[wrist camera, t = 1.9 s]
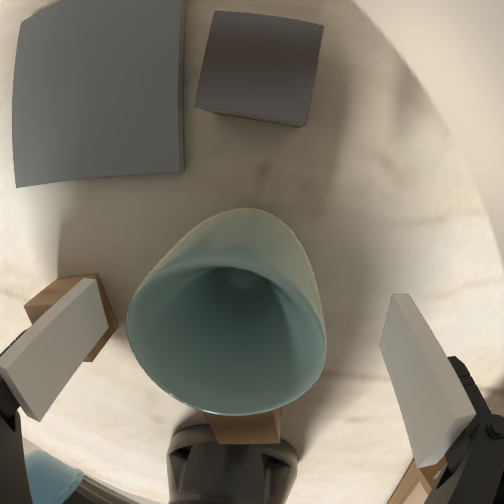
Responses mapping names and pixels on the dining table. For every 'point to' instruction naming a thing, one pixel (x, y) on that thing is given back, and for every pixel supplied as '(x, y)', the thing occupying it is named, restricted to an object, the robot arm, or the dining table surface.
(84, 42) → the slate board
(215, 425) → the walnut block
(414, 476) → the photo frame
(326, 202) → the dining table surface
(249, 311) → the cup
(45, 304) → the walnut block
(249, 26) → the charcoal block front
